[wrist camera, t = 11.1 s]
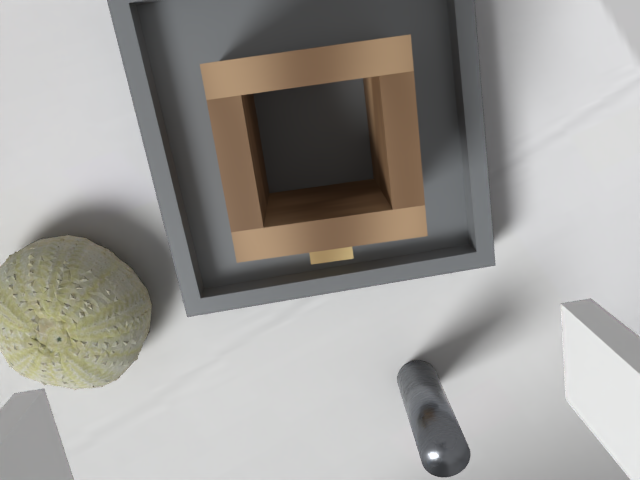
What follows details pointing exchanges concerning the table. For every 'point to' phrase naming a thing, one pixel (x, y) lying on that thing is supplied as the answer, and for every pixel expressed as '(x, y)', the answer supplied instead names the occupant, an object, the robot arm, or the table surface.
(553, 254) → the table surface
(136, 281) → the sea urchin shell
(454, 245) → the tray
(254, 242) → the wooden light box
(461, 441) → the grey rounded cylinder
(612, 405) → the robot arm
